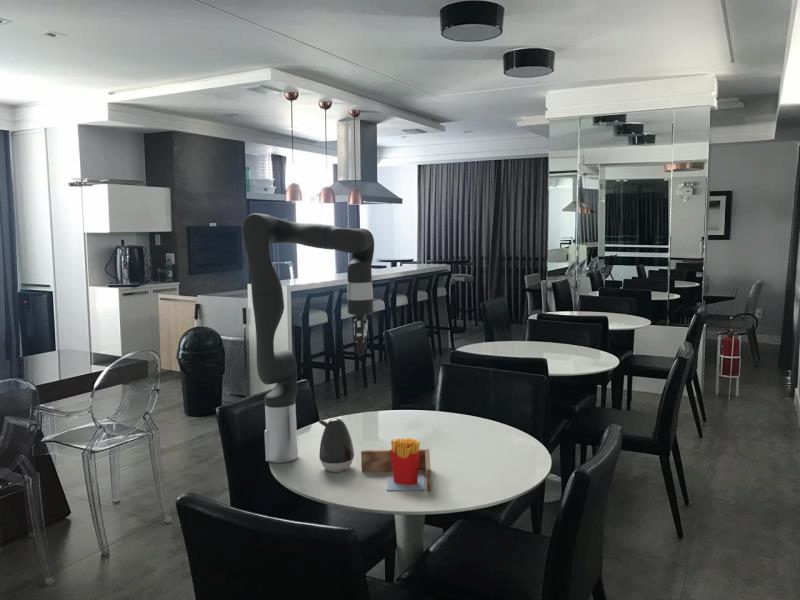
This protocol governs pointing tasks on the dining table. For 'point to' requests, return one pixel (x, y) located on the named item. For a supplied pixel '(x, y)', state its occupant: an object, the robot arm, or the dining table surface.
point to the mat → (401, 487)
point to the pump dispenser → (336, 446)
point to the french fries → (405, 460)
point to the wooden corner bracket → (382, 462)
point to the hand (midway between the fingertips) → (361, 352)
